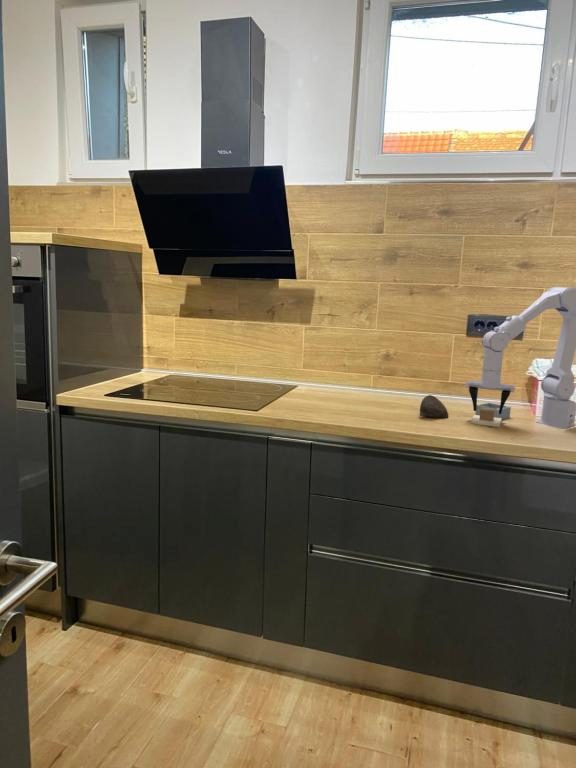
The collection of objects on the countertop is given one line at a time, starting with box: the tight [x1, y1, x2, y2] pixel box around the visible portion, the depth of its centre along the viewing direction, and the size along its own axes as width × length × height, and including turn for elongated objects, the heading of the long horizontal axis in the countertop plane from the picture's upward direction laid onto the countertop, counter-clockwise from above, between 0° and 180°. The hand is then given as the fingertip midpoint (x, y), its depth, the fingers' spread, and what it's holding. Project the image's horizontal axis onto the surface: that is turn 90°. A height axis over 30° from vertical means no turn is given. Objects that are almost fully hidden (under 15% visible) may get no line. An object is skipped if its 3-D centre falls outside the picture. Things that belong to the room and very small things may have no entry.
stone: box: [419, 394, 449, 419], centre depth 188 cm, size 10×8×10 cm
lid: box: [470, 408, 503, 428], centre depth 182 cm, size 9×9×4 cm
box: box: [474, 402, 512, 420], centre depth 190 cm, size 8×8×4 cm
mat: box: [466, 419, 507, 428], centre depth 182 cm, size 9×9×1 cm
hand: (487, 411), depth 181 cm, fingers open, 7 cm apart
